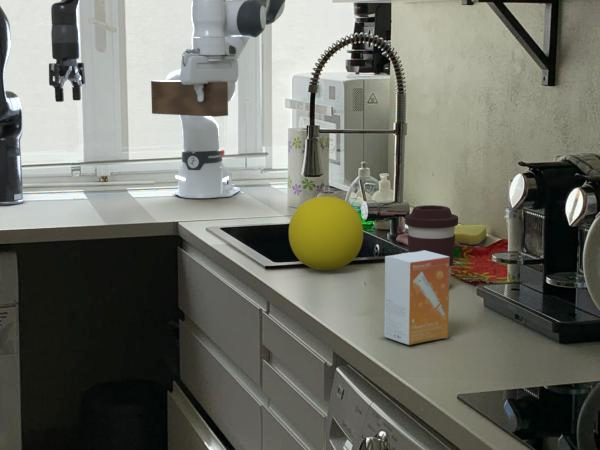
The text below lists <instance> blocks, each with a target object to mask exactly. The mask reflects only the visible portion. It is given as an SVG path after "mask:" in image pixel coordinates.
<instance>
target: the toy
mask: <svg viewBox="0 0 600 450" xmlns="http://www.w3.org/2000/svg"><path fill="white" fill-rule="evenodd" d="M288 241H289V245H290V248H291V250H292V252H293V254H294V256H295V257H296V258H297V259H298V261H299V262H300V263H302V264H303V265H305V266H306V267H308V268H310V269H313V270H317V271H333V270H338V269H341V268H344V267H345V266H347V265H349V264H350V263H351V262H353V260H354V259H355V258H356V257H358V255H359V253H360V251H361V249H362V245H363V241H364V226H363V222H362V219H361V216H360V214H359V213H358V211H357V209H356V208H355V207H354V206H353V205H352V204H351V203H349V202H347V201H346V200H344V199H342V198H339V197H335V196H328V195H327V196H326V195H323V196H316V197H313V198H310V199H308V200H306V201H304V202H303V203H301V204H300V205H299V206H298V207H297V208H296V209H295V211H294V212H293V214H292V216H291V218H290V221H289V225H288Z"/></svg>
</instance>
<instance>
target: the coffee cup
mask: <svg viewBox="0 0 600 450" xmlns="http://www.w3.org/2000/svg"><path fill="white" fill-rule="evenodd" d="M404 225H406V226H407V227H408V228H407V230H408V233H407V251H408V252H407V253H409V252H418V251H424V250H425V251H429V252H433V253H437V254H441V255H445V256H449V257H450V266H449V286H450V285H451V279H452V266H453V265H454V255H455V244H456V243H455V242H456V235H455V229H456V228H455V227H456V226H458V225H459V216H458V215H456V214H453V213H452V211H451V208H450V207H448V206H444V205H437V204H436V205H434V204H433V205H431V204H429V205H426V204H425V205H418V206H414V207H413V208H412V210H411V213H408V214H406V215H405V216H404Z"/></svg>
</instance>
